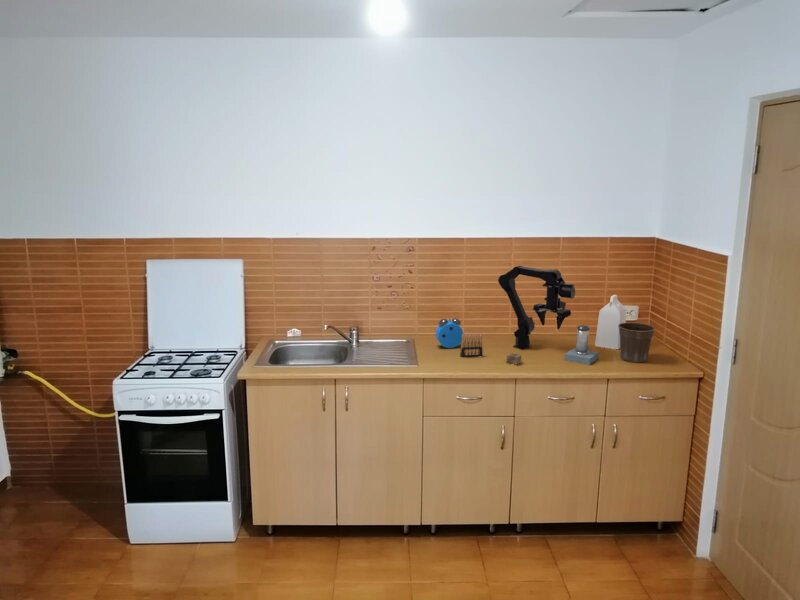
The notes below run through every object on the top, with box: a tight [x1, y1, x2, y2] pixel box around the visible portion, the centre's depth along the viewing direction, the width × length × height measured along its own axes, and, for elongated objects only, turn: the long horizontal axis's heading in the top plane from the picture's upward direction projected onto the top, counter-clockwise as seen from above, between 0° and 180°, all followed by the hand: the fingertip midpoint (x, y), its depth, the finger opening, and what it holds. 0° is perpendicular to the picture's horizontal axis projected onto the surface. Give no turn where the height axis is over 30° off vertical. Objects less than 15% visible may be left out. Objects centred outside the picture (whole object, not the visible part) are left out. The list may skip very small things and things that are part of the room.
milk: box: [594, 294, 627, 350], centre depth 308 cm, size 12×12×26 cm
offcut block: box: [506, 352, 522, 366], centre depth 282 cm, size 5×5×4 cm
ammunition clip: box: [459, 332, 483, 358], centre depth 291 cm, size 11×2×12 cm, turn 98°
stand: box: [564, 347, 600, 366], centre depth 288 cm, size 12×12×3 cm
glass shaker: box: [575, 324, 591, 355], centre depth 286 cm, size 6×6×13 cm
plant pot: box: [618, 322, 656, 363], centre depth 287 cm, size 16×16×16 cm
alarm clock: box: [435, 317, 464, 349], centre depth 305 cm, size 13×6×15 cm, turn 100°
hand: (550, 327), depth 295 cm, fingers open, 9 cm apart
